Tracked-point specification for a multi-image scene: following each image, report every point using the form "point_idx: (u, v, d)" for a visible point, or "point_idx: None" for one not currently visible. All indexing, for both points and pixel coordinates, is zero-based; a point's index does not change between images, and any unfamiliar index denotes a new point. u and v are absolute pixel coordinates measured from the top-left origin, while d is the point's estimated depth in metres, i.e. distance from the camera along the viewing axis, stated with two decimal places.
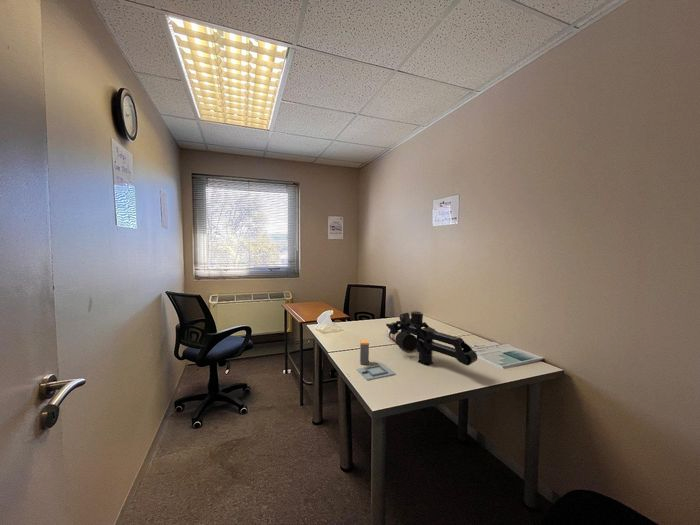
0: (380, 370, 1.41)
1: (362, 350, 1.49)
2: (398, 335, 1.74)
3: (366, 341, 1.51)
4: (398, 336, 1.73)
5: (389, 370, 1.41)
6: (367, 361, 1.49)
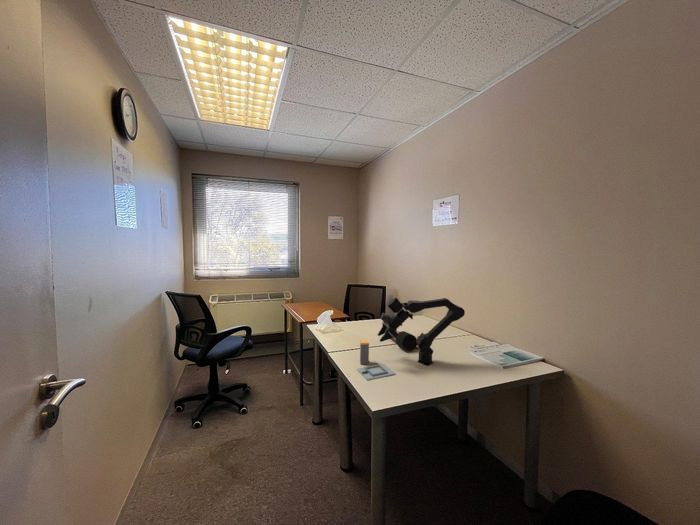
0: (380, 370, 1.41)
1: (362, 350, 1.49)
2: (398, 335, 1.74)
3: (366, 341, 1.51)
4: (398, 336, 1.73)
5: (389, 370, 1.41)
6: (367, 361, 1.49)
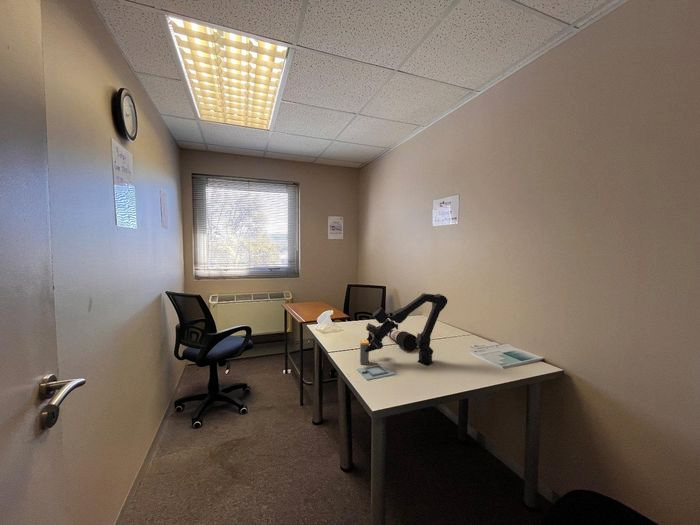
0: (380, 370, 1.41)
1: (362, 350, 1.49)
2: (398, 335, 1.74)
3: (366, 341, 1.51)
4: (398, 336, 1.73)
5: (389, 370, 1.41)
6: (367, 361, 1.49)
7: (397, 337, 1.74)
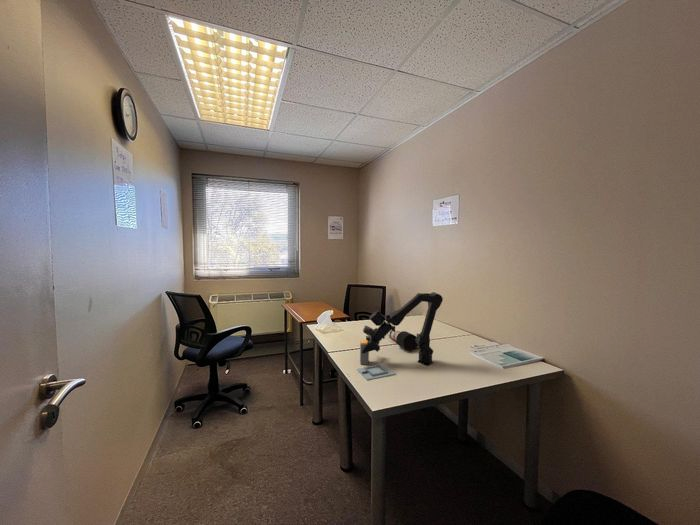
0: (380, 370, 1.41)
1: (362, 350, 1.49)
2: (399, 335, 1.74)
3: (366, 341, 1.51)
4: (399, 336, 1.73)
5: (389, 370, 1.41)
6: (367, 361, 1.49)
7: (397, 337, 1.74)
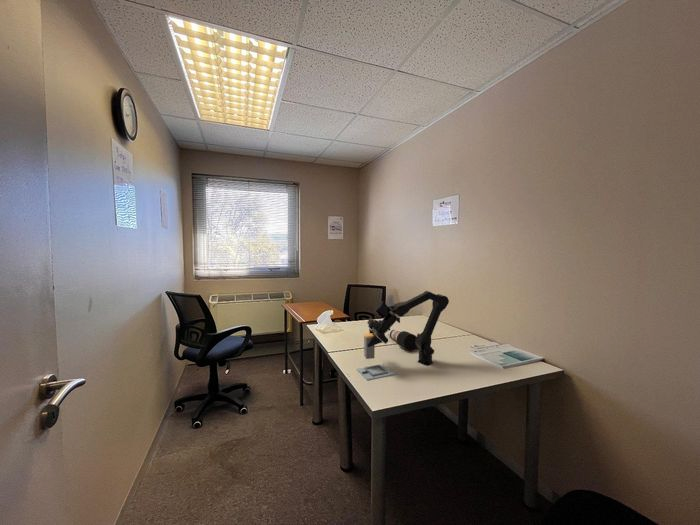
0: (380, 370, 1.41)
1: None
2: (399, 335, 1.74)
3: (371, 334, 1.45)
4: (399, 336, 1.73)
5: (389, 370, 1.41)
6: (373, 355, 1.44)
7: (398, 337, 1.74)
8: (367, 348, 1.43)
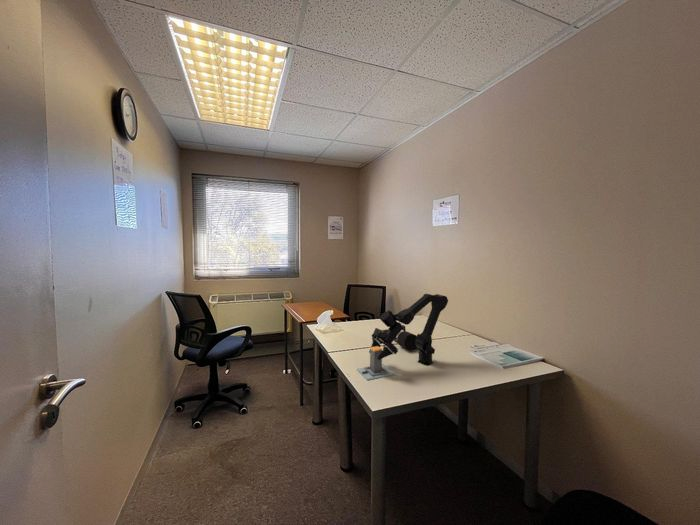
0: None
1: (375, 358, 1.38)
2: (400, 335, 1.74)
3: (377, 347, 1.40)
4: (400, 336, 1.73)
5: (389, 370, 1.41)
6: (380, 369, 1.39)
7: (398, 337, 1.74)
8: (375, 362, 1.37)
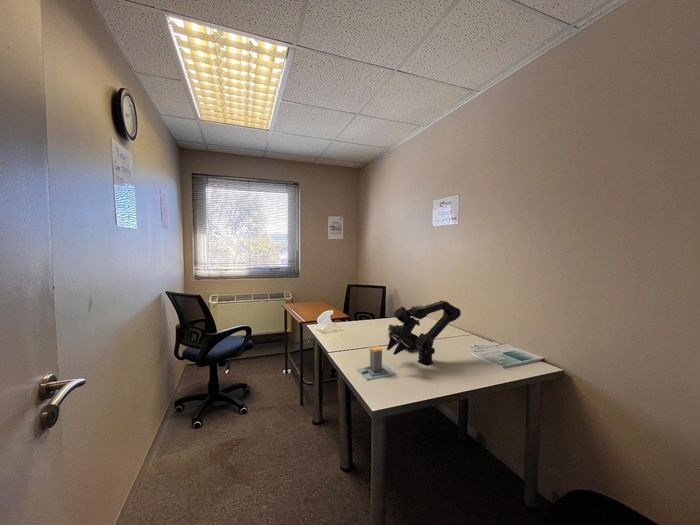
0: None
1: (375, 358, 1.38)
2: None
3: (377, 347, 1.40)
4: None
5: (389, 370, 1.41)
6: (380, 369, 1.39)
7: None
8: (375, 362, 1.37)
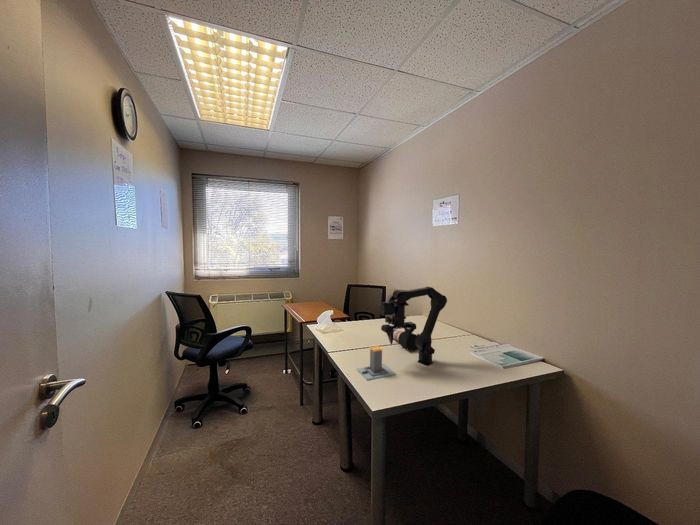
0: None
1: (375, 358, 1.38)
2: (401, 335, 1.74)
3: (377, 347, 1.40)
4: (401, 336, 1.73)
5: (389, 370, 1.41)
6: (380, 369, 1.39)
7: (399, 337, 1.74)
8: (375, 362, 1.37)
